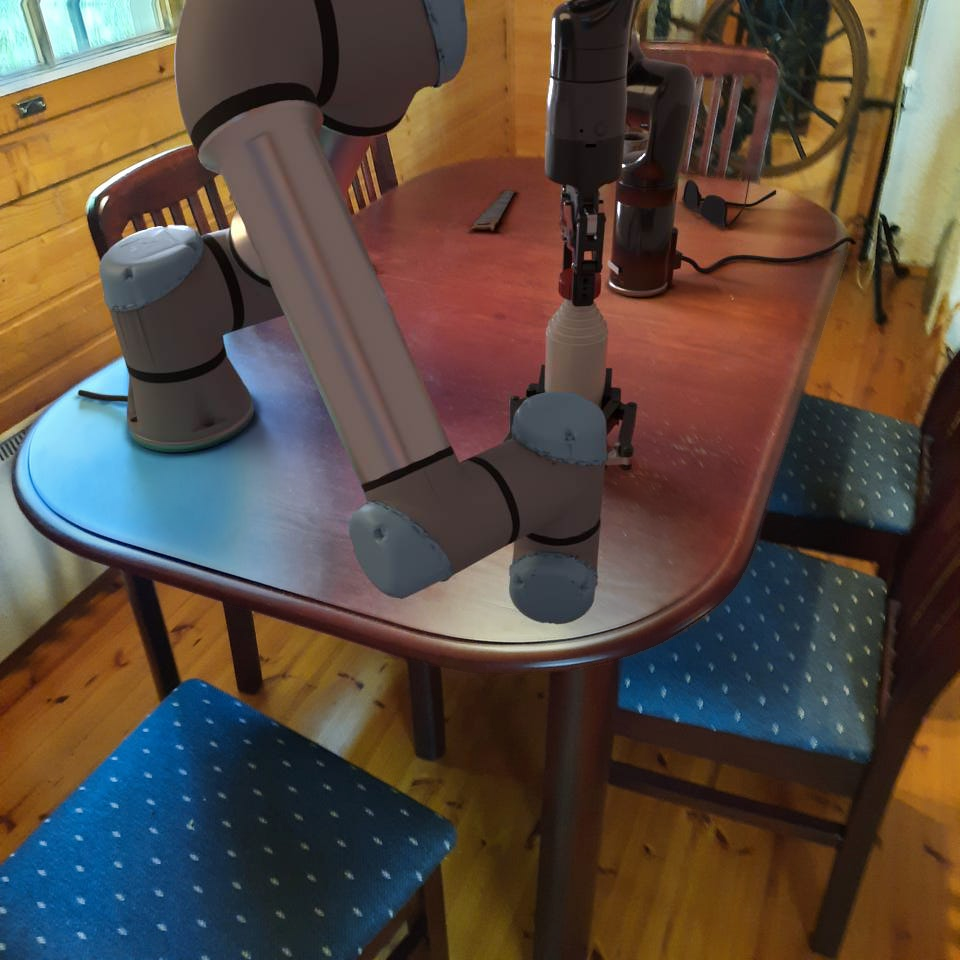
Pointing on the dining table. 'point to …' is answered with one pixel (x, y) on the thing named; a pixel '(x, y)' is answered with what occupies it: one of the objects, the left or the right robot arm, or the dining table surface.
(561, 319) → the bottle
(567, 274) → the cap
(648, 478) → the dining table surface
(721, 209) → the sunglasses
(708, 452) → the dining table surface
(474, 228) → the grey flat bar
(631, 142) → the pipe
